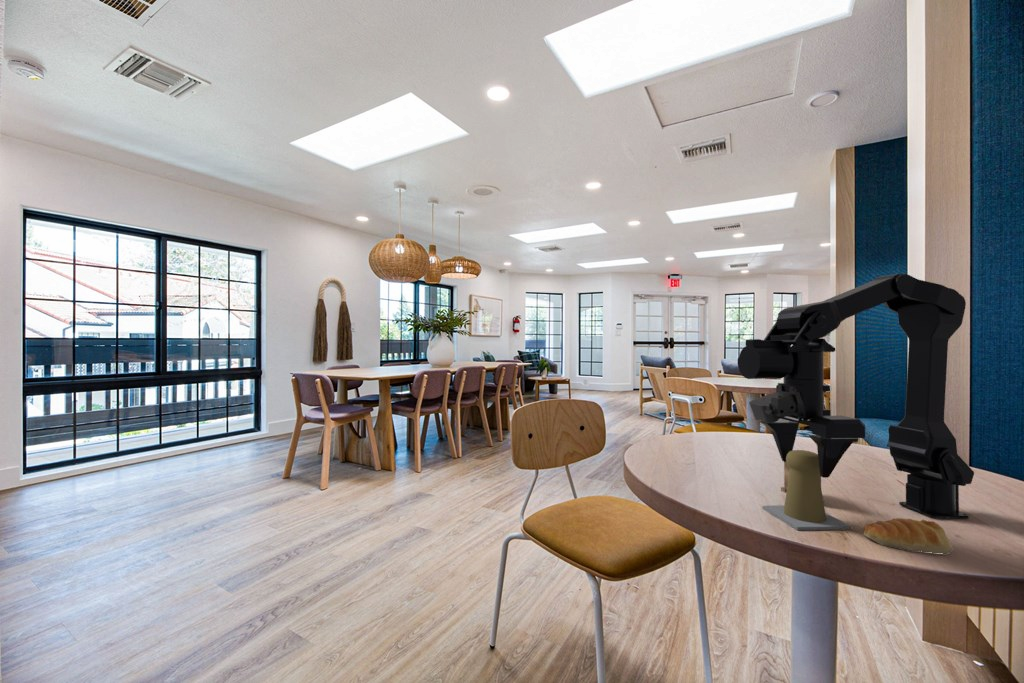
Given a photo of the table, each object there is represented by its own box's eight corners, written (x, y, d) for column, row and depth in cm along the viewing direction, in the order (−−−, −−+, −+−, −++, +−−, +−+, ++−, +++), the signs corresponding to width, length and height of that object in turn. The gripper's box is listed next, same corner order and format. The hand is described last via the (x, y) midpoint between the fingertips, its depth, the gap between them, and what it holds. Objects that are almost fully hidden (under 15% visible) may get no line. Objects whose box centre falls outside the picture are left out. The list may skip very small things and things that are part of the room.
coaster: (810, 507, 77) (810, 505, 77) (851, 529, 68) (851, 526, 68) (762, 508, 76) (762, 505, 76) (797, 530, 67) (797, 527, 67)
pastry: (881, 552, 61) (880, 525, 61) (853, 532, 67) (853, 508, 67) (958, 558, 59) (957, 531, 59) (922, 537, 65) (921, 513, 65)
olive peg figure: (826, 525, 68) (825, 457, 68) (781, 516, 71) (781, 452, 72) (826, 513, 73) (826, 450, 73) (785, 505, 76) (784, 445, 76)
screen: (795, 489, 86) (795, 450, 86) (825, 504, 78) (825, 461, 78) (780, 489, 86) (780, 451, 86) (809, 504, 78) (808, 461, 78)
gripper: (727, 374, 81) (728, 455, 81) (795, 383, 63) (796, 487, 62) (783, 374, 82) (784, 454, 81) (868, 383, 63) (869, 486, 63)
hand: (804, 468), depth 72 cm, fingers open, 9 cm apart
